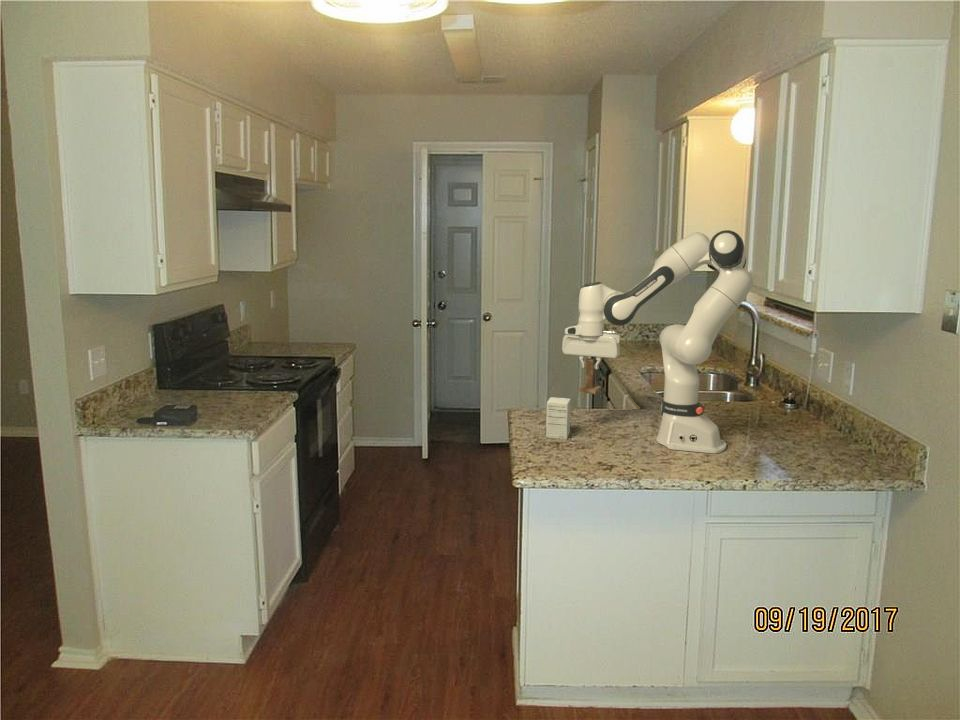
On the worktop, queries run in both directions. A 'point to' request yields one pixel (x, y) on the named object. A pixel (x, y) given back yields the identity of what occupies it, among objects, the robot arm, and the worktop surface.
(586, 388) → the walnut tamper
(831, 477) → the worktop surface
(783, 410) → the worktop surface
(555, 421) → the supplement box
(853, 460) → the worktop surface
